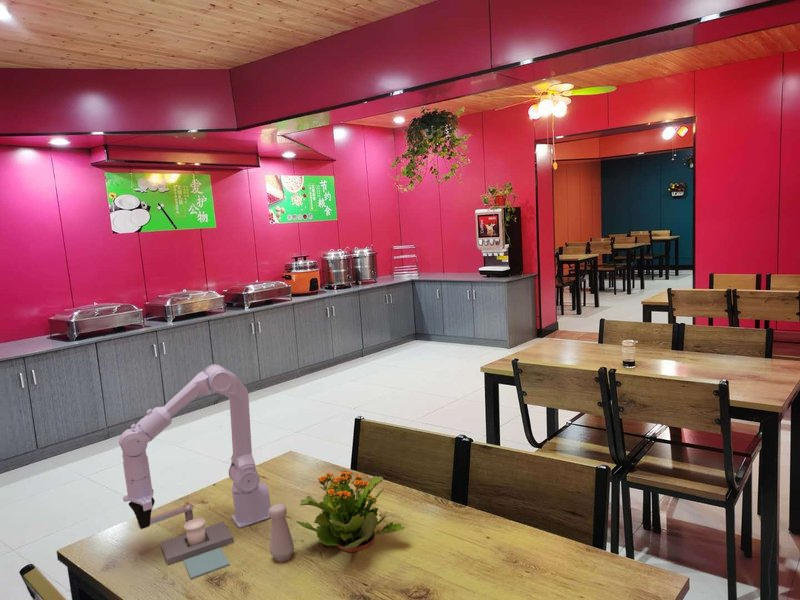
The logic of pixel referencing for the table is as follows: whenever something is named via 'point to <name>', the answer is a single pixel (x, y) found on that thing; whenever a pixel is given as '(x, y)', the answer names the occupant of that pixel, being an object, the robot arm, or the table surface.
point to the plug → (195, 531)
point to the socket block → (179, 551)
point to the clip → (170, 513)
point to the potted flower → (347, 513)
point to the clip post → (188, 515)
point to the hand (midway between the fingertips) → (145, 527)
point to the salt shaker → (280, 534)
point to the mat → (206, 563)
